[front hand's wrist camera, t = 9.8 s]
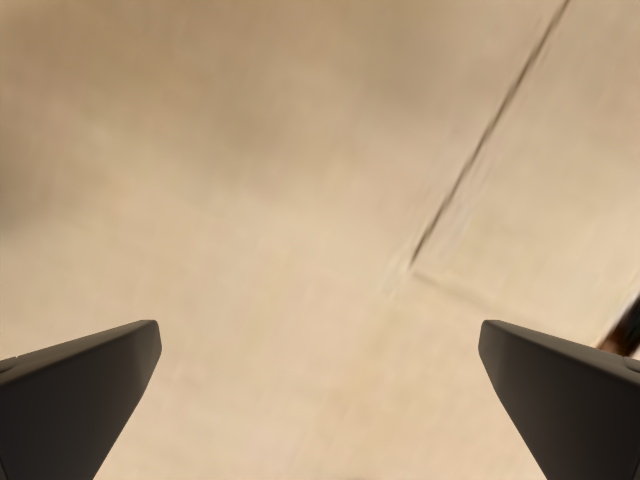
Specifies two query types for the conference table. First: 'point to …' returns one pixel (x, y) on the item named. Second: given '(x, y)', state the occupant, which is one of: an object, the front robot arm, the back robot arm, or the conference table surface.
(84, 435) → the front robot arm
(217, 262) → the conference table surface
